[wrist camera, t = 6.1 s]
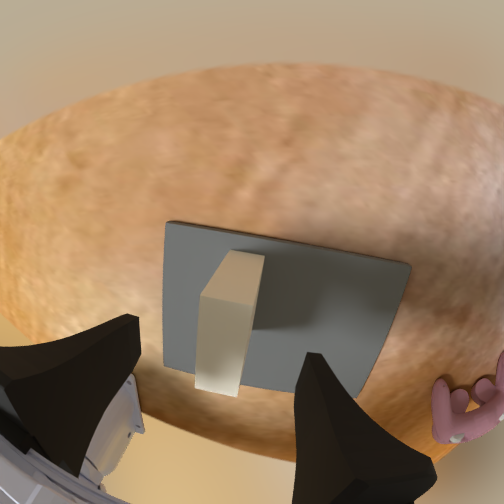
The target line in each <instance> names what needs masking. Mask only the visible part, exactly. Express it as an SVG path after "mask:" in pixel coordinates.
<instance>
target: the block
mask: <svg viewBox="0 0 504 504" xmlns="http://www.w3.org/2000/svg"><path fill="white" fill-rule="evenodd" d="M264 258H265V256H263V255H258V254H252V253H246V252H241V251H235V250H229V252H228V253H227V255H226V256H225V258H224V259H223V261H222V262H221V264H220V265H219V267H218V268H217V270H216V271H215V273H214V275H213V276H212V278H211V279H210V281H209V282H208V284H207V285H206V287H205V288H204V290H203V291H202V293H201V294H200V301H199V315H198V330H197V347H196V367H195V388H197V389H201V390H205V391H210V392H214V393H218V394H223V395H228V396H233V397H237V395H238V390H239V386H240V381H241V377H242V372H243V368H244V363H245V359H246V354H247V350H248V345H249V340H250V336H251V331H252V326H253V320H254V315H255V309H256V304H257V298H258V293H259V287H260V281H261V276H262V270H263V264H264Z"/></svg>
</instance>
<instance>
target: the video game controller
mask: <svg viewBox="0 0 504 504" xmlns="http://www.w3.org/2000/svg"><path fill="white" fill-rule="evenodd" d="M471 397H472V399H473V400H474V402H476V403H477V404H479V405H480V407H479V408H477V409H475V410H472V411H469V412H466V413H465V411H466V409H467V407H468V404H469V395H468V393H467V392H466V391H465V390H463V389H457V390H455V391H453V392H452V393H451V394H450V391H449V388H448V386H447V384H446V382H445V381H444V380H443V379H441V378H440V379H437V380H436V382H435V383H434V386H433V390H432V399H431V408H432V417H433V426H432V435H433V438H434V439H435V440H436V441H437V442H438V443H441V444H450V443H463V442H468V441H470V440H473V439H476V438H478V437H480V436H482V435H484V434H485V433H487V432H488V431H490V430H492V429H493V428H494V427H495V426H496V425H497V424H498V423H499V422H500V421H502V420H503V419H504V352H502V354H501V356H500V358H499V361H498V366H497V372H496V383H495V386H494V385H493V384H492V383H491V382H490V381H489V380H488V379H486V378H483V379H481V380H479V381H478V382H477V383H476V384H475V385H474V386H473V387H472V390H471Z"/></svg>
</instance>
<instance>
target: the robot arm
mask: <svg viewBox="0 0 504 504" xmlns="http://www.w3.org/2000/svg"><path fill="white" fill-rule="evenodd" d="M140 355H141V342H140V328H139V317H137V316H134V315H131V314H124V315H121V316H119V317H116V318H114V319H112V320H109V321H107V322H105V323H103V324H100V325H98V326H96V327H93V328H91V329H88V330H86V331H83V332H80V333H78V334H75V335H72V336H70V337H66V338H63V339H60V340H56V341H52V342H47V343H42V344H35V345H29V346H18V347H17V346H16V347H0V504H130V503H127V502H125V501H123V500H120V499H118V498H116V497H114V496H111V495H109V494H107V493H106V489H105V486H104V485H103V484H102V483H101V481H102V479H103V477H104V476H106V475H108V474H110V473H111V472H113V471H114V470H115V468H116V467H117V465H118V463H119V461H120V459H121V458H122V455H123V454H124V452H125V450H126V448H127V446H128V444H129V442H130V440H131V439H132V437H133V435H134V433H135V432H137V433H140V434H143V433H144V432H145V428H144V424H143V419H142V414H141V409H140V404H139V399H138V393H137V387H136V381H135V377H134V375H133V374H131V373H132V371H133V369H134V367H135V365H136V364H137V361H138V359H139V357H140ZM294 416H295V432H296V449H297V458H296V471H295V482H294V491H293V498H292V504H414V501H415V500H416V499H417V498H419V497H420V496H421V495H423V494H424V493H425V492H426V491H428V490H429V489H430V488H431V487H432V486H433V485H434V484H435V482H436V480H437V475H436V471H435V469H434V466H433V463H432V460H431V458H430V457H428V456H426V455H424V454H422V453H420V452H418V451H416V450H414V449H412V448H410V447H409V446H407V445H405V444H404V443H402V442H401V441H399V440H398V439H396V438H395V437H393V436H392V435H391V434H389V433H388V432H387V431H385V430H384V429H383V428H382V427H380V426H379V425H378V424H377V423H376V422H375V421H373V420H372V419H371V418H370V417H369V416H368V415H367V414H366V413H365V412H364V411H363V410H362V409H361V408H360V407H359V405H358V404H357V403H356V402H355V401H354V400H353V398H352V397H351V396H350V395H349V394H348V392H347V391H346V390H345V388H344V387H343V385H342V384H341V383H340V381H339V380H338V378H337V377H336V375H335V374H334V372H333V371H332V369H331V368H330V366H329V364H328V363H327V361H326V360H325V358H324V357H323V355H322V354H321V353H313V352H307V354H306V357H305V360H304V363H303V366H302V369H301V372H300V375H299V378H298V380H297V383H296V386H295V398H294Z"/></svg>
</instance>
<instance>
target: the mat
mask: <svg viewBox="0 0 504 504" xmlns="http://www.w3.org/2000/svg"><path fill="white" fill-rule="evenodd" d="M229 250H235V251H241V252H246V253H252V254H258V255H263V256H265V258H264V264H263V270H262V276H261V281H260V287H259V293H258V298H257V304H256V309H255V315H254V320H253V326H252V331H251V336H250V340H249V345H248V350H247V354H246V359H245V363H244V368H243V372H242V377H241V381H240V385H246V386H251V387H257V388H263V389H269V390H276V391H283V392H290V393H295V386H296V383H297V380H298V378H299V375H300V372H301V369H302V366H303V363H304V360H305V357H306V354H307V352H313V353H321V354H322V355H323V357H324V358H325V360H326V361H327V363H328V364H329V366H330V368H331V369H332V371H333V372H334V374H335V375H336V377H337V378H338V380H339V381H340V383H341V384H342V385H343V387H344V388H345V390H346V391H347V392H348V394H349V395H350V396H351V397H352V398H357V396H358V395H359V393H360V391H361V389H362V387H363V385H364V383H365V381H366V379H367V377H368V375H369V373H370V371H371V369H372V367H373V365H374V363H375V361H376V359H377V357H378V354H379V352H380V350H381V348H382V346H383V343H384V341H385V339H386V336H387V334H388V332H389V329H390V327H391V324H392V322H393V319H394V317H395V314H396V312H397V309H398V306H399V304H400V301H401V298H402V295H403V292H404V290H405V287H406V284H407V281H408V278H409V275H410V271H411V268H412V267H411V266H410V265H409V264H407V263H402V262H397V261H392V260H387V259H382V258H377V257H372V256H367V255H361V254H356V253H351V252H346V251H340V250H335V249H330V248H324V247H319V246H314V245H308V244H303V243H297V242H292V241H286V240H280V239H275V238H269V237H263V236H258V235H252V234H246V233H240V232H234V231H228V230H223V229H217V228H211V227H204V226H198V225H192V224H186V223H180V222H174V221H168V222H166V226H165V241H164V262H163V358H164V366H165V367H169V368H172V369H176V370H180V371H183V372H187V373H191V374H195V367H196V347H197V330H198V315H199V301H200V294H201V293H202V291H203V290H204V288H205V287H206V285H207V284H208V282H209V281H210V279H211V278H212V276H213V275H214V273H215V271H216V270H217V268H218V267H219V265H220V264H221V262H222V261H223V259H224V258H225V256H226V255H227V253H228V252H229Z"/></svg>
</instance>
